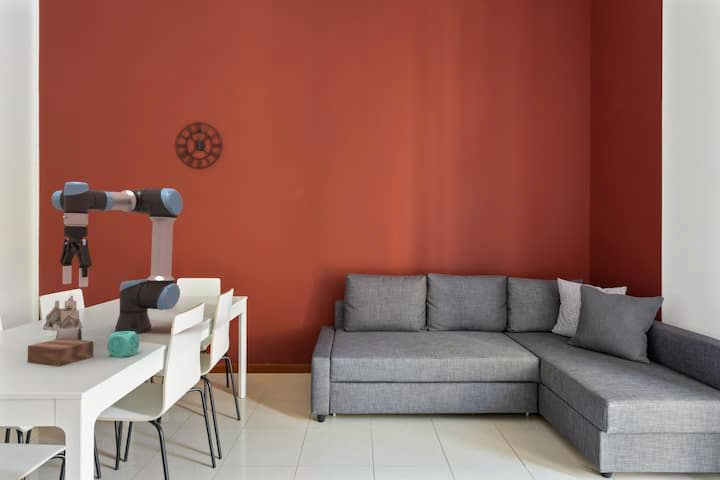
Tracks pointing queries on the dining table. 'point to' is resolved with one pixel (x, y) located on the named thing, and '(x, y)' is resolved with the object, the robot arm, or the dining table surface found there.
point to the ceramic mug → (70, 334)
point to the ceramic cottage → (63, 317)
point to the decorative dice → (123, 343)
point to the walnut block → (60, 352)
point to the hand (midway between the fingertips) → (75, 285)
